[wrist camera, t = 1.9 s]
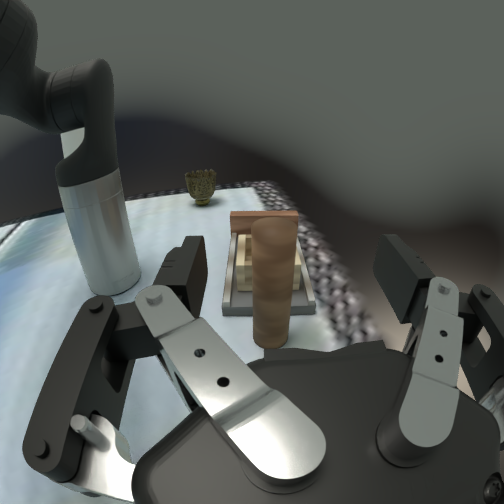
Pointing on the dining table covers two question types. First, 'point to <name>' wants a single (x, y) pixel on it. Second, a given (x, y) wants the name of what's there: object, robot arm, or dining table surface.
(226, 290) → the rail board
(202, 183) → the cup
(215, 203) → the dining table surface
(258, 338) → the dowel
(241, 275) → the sliding block
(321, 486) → the robot arm
